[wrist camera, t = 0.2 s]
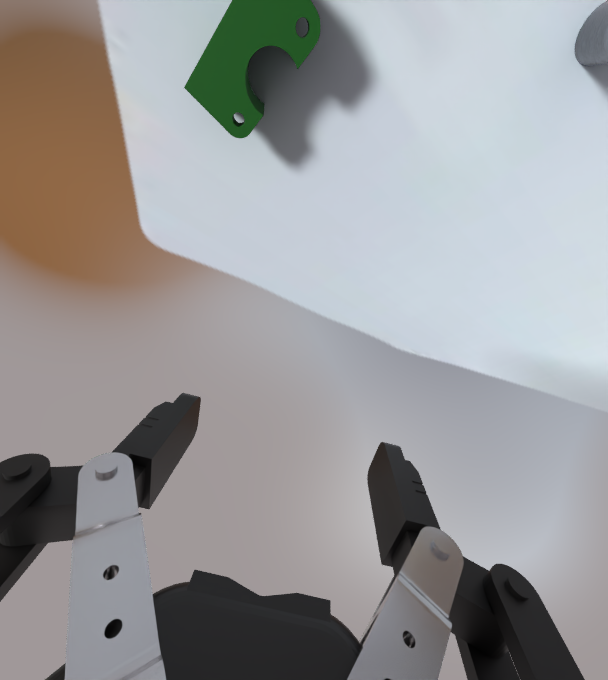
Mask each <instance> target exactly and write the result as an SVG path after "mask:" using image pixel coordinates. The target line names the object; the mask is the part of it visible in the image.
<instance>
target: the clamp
mask: <svg viewBox="0 0 608 680" xmlns="http://www.w3.org/2000/svg"><path fill="white" fill-rule="evenodd" d="M301 17H304V18H306V20H307V22H308V32H307V34H306V35H305V36H303V37H300V36H298V35H297V33H296V23H297V21H298V19H299V18H301ZM319 35H320V18H319V15H318V12H317V10H316V8H315V7H314V5H313V3H312V2H311V0H232V2H231V4H230V6H229V7H228V9H227V11H226V13H225V15H224V16H223V18H222V20H221V22H220V24H219V25H218V27H217V29H216V31H215V33H214V35H213V36H212V38H211V40H210V42H209V44H208V45H207V47H206V49H205V51H204V53H203V54H202V56H201V58H200V60H199V62H198V63H197V65H196V67H195V69H194V71H193V73H192V74H191V76H190V78H189V80H188V82H187V83H186V85H185V87H184V88H185V89H186V90H187V91H188V92H189V93H190V94H191V95H192V96H193V97H194V98H195V99H196V100H197V101H198V102H199V103H200V104H201V105H202V106H203V107H204V108H205V109H206V110H207V111H208V112H209V113H210V114H211V115H212V116H213V117H214V118H215V119H216V120H217V121H218V122H219V123H220V124H221V125H222V126H223V127H224V128H225V129H226V130H227V131H228V132H229V133H230V134H231V135H232V136H234V137H236V138H244V137H247V136H248V135H249V134H250V133H251V131H252V130H253V129H254V127H255V126H256V125H257V123H258V122H259V121H260V119H261V118H262V117H263V114H264V103H263V102H261V101H260V100H259V99H258V98H257V97H256V95H255V94H254V92H253V90H252V88H251V85H250V82H249V77H248V65H249V60H250V58H251V57H252V55H253V54H254V53H255V52H256V51H257V50H259V49H260V48H262V47H265V46H277V47H279V48H281V49H283V50H285V51H286V52H287V53H288V54H289V55H290V56H291V58H292V59H293V60H294V62H295V64H296V66H297V69H298V68H299V67H300V65H301V64H302V63H303V61H304V60H305V59H306V57H307V56H308V55H309V53H310V52H311V50H312V49H313V48H314V46H315V45H316V43H317V41H318V39H319ZM237 112H239V113H241V114H242V115H243V116H244V119H245V121H244V122H243V123H238V122H237V121H236V120H235V118H234V114H235V113H237Z"/></svg>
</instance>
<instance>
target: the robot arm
mask: <svg viewBox="0 0 608 680" xmlns="http://www.w3.org/2000/svg"><path fill="white" fill-rule="evenodd" d="M200 402H201V398H200V397H197V396H194V395H190V394H185V393H182V394H181V395H180V396H179V397H178V398H177V399H176V400H175V401H174V403H170V402H164V403H162V404H160V405H158V406H157V407H155V408H154V409H152V411H151V412H150V413H149V414H148V415H147V416H146V418H144V419H143V420H142V421H141V422H140V423H139V425H137V426H136V427H135V428H134V429H133V430H132V432H131V433H130V434H129V435H128V436H127V437H126V438H125V439H124V440H123V441H122V442H121V443H120V444H119V445H118V446H117V447H116V448H115V450H113V452H112V453H105V454H102V455H99V456H96V457H94V458H92V459H91V460H89V461H88V462H87V463H86V464H85V465H83V466H70V467H50V461H49V459H48V458H46V457H45V456H43V455H39V454H24V455H19V456H15V457H12V458H9V459H7V460H4V461H2V462H1V463H0V601H1V600H2V599H3V598H4V596H5V595H6V594H7V593H8V591H9V590H10V589H11V588H12V587H13V585H14V584H15V583H16V582H17V580H18V579H19V578H20V577H21V575H22V574H23V573H24V572H25V570H26V569H27V568H28V566H30V564H31V563H32V562H33V561H34V559H35V558H36V557H37V556H38V554H39V553H40V552H41V551H42V550H43V548H44V547H45V546H46V545H47V543H49V542H57V541H58V542H59V541H68V540H73V545H72V561H71V578H70V596H69V613H68V630H67V647H66V663H65V664H64V665H63V666H61V667H60V668H59V669H58V670H57V671H55V672H54V673H53V674H51V675H50V676H49V677H48V678H47V679H45V680H438V677H439V673H440V669H441V666H442V661H443V658H444V654H445V651H446V647H447V643H448V640H449V636H450V632H452V633H453V634H455V636H456V640H457V643H458V647H459V650H460V654H461V657H462V661H463V664H464V668H465V671H466V675H467V679H468V680H520V679H521V680H585V679H584V678H583V676H582V674H581V672H580V670H579V668H578V667H577V665H576V663H575V661H574V659H573V657H572V655H571V654H570V652H569V650H568V648H567V646H566V644H565V643H564V641H563V639H562V637H561V635H560V633H559V632H558V630H557V628H556V626H555V624H554V623H553V621H552V619H551V617H550V615H549V613H548V611H547V610H546V608H545V606H544V604H543V602H542V601H541V599H540V597H539V595H538V593H537V592H536V590H535V589H534V587H533V586H532V585H531V584H530V583H529V582H528V581H527V580H526V578H525V577H523V576H522V575H521V574H520V573H519V572H517V571H516V570H514V569H513V568H511V567H509V566H507V565H504V564H495V565H494V566H493V567H492V568H491V569H490V571H488V570H486V569H485V568H483V567H481V566H479V565H477V564H475V563H474V562H472V561H470V560H468V559H467V558H465V557H463V556H462V553H461V551H460V549H459V547H458V546H457V544H456V543H455V542H454V540H453V539H451V537H450V536H448V535H447V534H446V533H445V532H443V531H442V530H441V529H440V527H439V524H438V522H437V519H436V516H435V514H434V512H433V509H432V506H431V504H430V501H429V498H428V496H427V495H426V491H425V488H424V486H423V485H422V484H423V483H422V480H421V478H420V475H419V473H418V471H417V470H416V469H415V467H414V466H413V465H412V463H411V462H410V461H407V460H405V459H404V456H403V453H402V450H401V448H400V447H399V446H396V445H392V444H388V443H384V442H381V443H380V445H379V447H378V449H377V451H376V454H375V456H374V458H373V461H372V463H371V465H370V467H369V471H368V487H369V493H370V499H371V505H372V511H373V517H374V522H375V528H376V534H377V540H378V546H379V552H380V558H381V563H382V564H383V565H387V566H391V567H393V570H394V577H393V578H392V580H391V582H390V584H389V586H388V588H387V590H386V592H385V594H384V596H383V597H382V599H381V601H380V603H379V605H378V607H377V609H376V611H375V613H374V615H373V617H372V619H371V620H370V622H369V624H368V626H367V628H366V630H365V632H364V633H363V635H362V637H361V639H360V640H359V641H358V640H357V639H356V637H355V636H354V635H353V634H352V632H351V631H350V630H349V629H348V628H347V627H346V626H345V625H344V624H343V623H342V622H341V621H339V620H338V619H337V618H335V617H334V616H332V615H331V614H330V600H326V599H321V598H317V597H313V596H308V595H304V594H299V593H292V594H284V595H272V596H259V595H257V594H256V593H254V592H252V591H250V590H249V589H247V588H245V587H243V586H242V585H240V584H238V583H237V582H235V581H233V580H232V579H230V578H228V577H224V576H220V575H216V574H211V573H207V572H202V571H198V570H194V572H193V575H192V578H191V580H190V582H184V583H179V584H175V585H172V586H169V587H166V588H164V589H162V590H160V591H158V592H156V593H154V594H152V587H151V580H150V573H149V565H148V559H147V551H146V544H145V536H144V529H143V522H142V516H141V513H139V510H138V508H139V507H141V508H145V509H150V507H151V506H152V504H153V502H154V501H155V499H156V497H157V496H158V494H159V493H160V491H161V490H162V488H163V486H164V485H165V483H166V482H167V480H168V478H169V477H170V475H171V474H172V472H173V470H174V469H175V467H176V465H177V464H178V462H179V461H180V459H181V458H182V456H183V454H184V453H185V451H186V450H187V448H188V446H189V445H190V443H191V442H192V440H193V438H194V436H195V433H196V430H197V426H198V417H199V410H200ZM508 650H509V651H508ZM509 652H510V653H509ZM510 655H511V656H510ZM511 657H512V659H511ZM512 660H513V661H512ZM513 662H514V664H513ZM514 665H515V666H514ZM515 667H516V669H515ZM516 670H517V671H516ZM517 672H518V674H517ZM518 675H519V676H518ZM519 677H520V679H519Z"/></svg>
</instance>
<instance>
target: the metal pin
mask: <svg viewBox="0 0 608 680" xmlns="http://www.w3.org/2000/svg"><path fill="white" fill-rule="evenodd" d="M575 56H576V59H577V60H578V62H579V63H580V64H582V65H585V66H593V65H600V64H607V63H608V0H607V1H606V2H604V3H603V4H601V5H600V6H599V7H598V8H596V9H595V10H594V11H593V12H592V13H591V15H590V16H589V17H588V18H587V20H586V21H585V23H584V24H583V26H582V28H581V29H580V31H579V34H578V36H577V39H576V43H575Z"/></svg>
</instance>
